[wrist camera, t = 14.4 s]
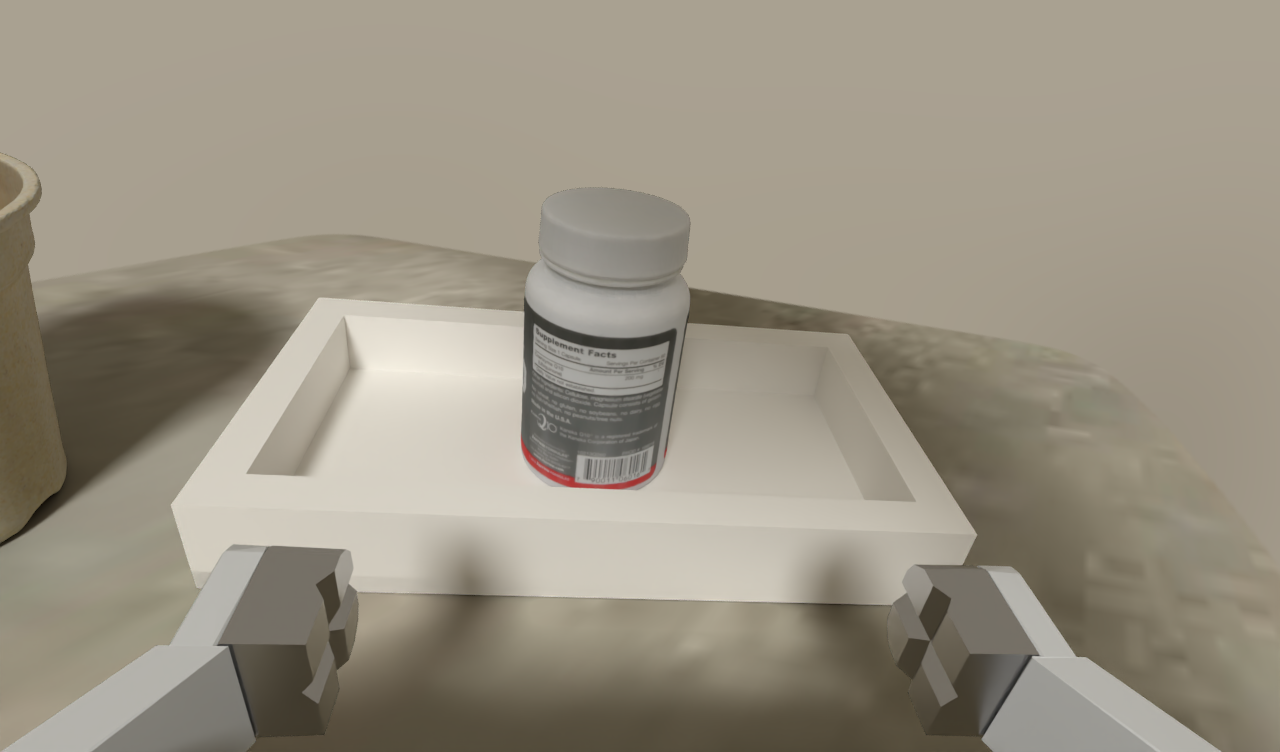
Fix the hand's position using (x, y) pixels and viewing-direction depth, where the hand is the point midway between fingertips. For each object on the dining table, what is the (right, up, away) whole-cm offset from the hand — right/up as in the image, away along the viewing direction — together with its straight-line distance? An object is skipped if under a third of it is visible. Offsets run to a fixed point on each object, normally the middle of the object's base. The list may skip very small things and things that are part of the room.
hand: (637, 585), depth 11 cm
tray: (-2, 0, +13) cm, 14 cm away
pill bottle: (-2, 0, +13) cm, 13 cm away
